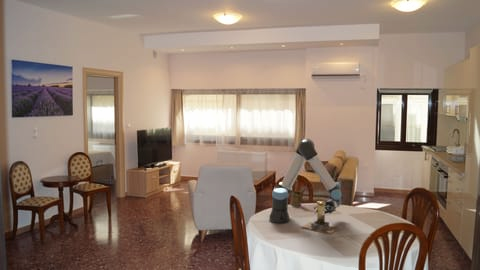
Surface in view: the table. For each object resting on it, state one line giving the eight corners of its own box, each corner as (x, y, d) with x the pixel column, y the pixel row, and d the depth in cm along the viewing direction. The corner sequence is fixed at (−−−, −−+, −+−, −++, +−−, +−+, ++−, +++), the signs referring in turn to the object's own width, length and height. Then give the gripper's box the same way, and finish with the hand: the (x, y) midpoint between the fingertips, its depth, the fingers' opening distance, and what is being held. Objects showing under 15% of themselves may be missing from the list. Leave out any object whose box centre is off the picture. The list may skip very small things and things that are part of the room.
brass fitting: (314, 222, 275) (315, 202, 274) (318, 219, 281) (318, 200, 280) (323, 223, 272) (324, 203, 271) (326, 221, 277) (327, 201, 276)
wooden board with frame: (301, 228, 277) (301, 222, 277) (309, 223, 289) (309, 217, 288) (331, 234, 265) (331, 228, 265) (338, 228, 277) (338, 223, 276)
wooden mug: (302, 207, 333) (303, 186, 331) (288, 204, 341) (288, 184, 339) (307, 205, 340) (307, 184, 339) (293, 202, 348) (293, 182, 346)
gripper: (341, 212, 286) (330, 220, 267) (318, 208, 296) (305, 215, 277) (342, 202, 286) (331, 209, 266) (318, 198, 295) (306, 205, 276)
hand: (318, 212), depth 271 cm, fingers closed on brass fitting, 5 cm apart
